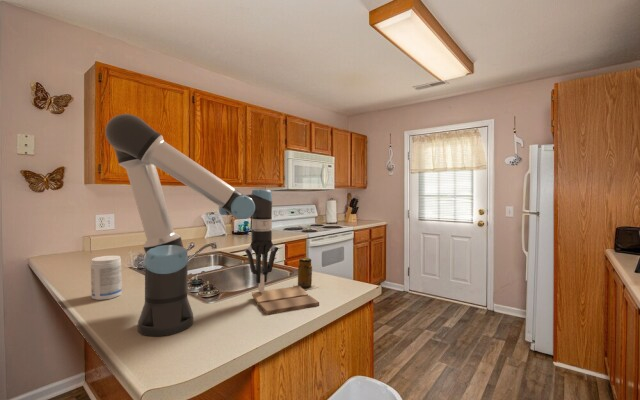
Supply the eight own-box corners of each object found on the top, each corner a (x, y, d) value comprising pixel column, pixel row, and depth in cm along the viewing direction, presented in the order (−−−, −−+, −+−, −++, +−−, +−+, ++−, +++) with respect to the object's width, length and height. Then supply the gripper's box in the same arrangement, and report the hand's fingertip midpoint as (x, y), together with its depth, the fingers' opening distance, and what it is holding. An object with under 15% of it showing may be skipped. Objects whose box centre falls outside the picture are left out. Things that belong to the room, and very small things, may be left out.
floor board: (266, 314, 106) (266, 311, 106) (258, 305, 113) (258, 302, 113) (319, 305, 115) (319, 302, 115) (308, 297, 123) (308, 294, 123)
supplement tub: (126, 292, 125) (126, 255, 124) (111, 300, 115) (111, 260, 114) (101, 292, 124) (101, 255, 124) (84, 300, 115) (84, 260, 114)
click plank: (258, 305, 114) (258, 302, 114) (251, 295, 121) (252, 292, 121) (308, 297, 123) (308, 294, 123) (299, 288, 130) (299, 285, 130)
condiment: (306, 282, 142) (307, 256, 142) (318, 287, 136) (318, 260, 136) (293, 285, 138) (293, 258, 137) (304, 290, 131) (305, 262, 131)
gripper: (247, 232, 114) (247, 296, 115) (281, 230, 120) (280, 291, 121) (242, 229, 121) (241, 290, 121) (274, 227, 127) (274, 285, 128)
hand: (261, 290), depth 121 cm, fingers closed
